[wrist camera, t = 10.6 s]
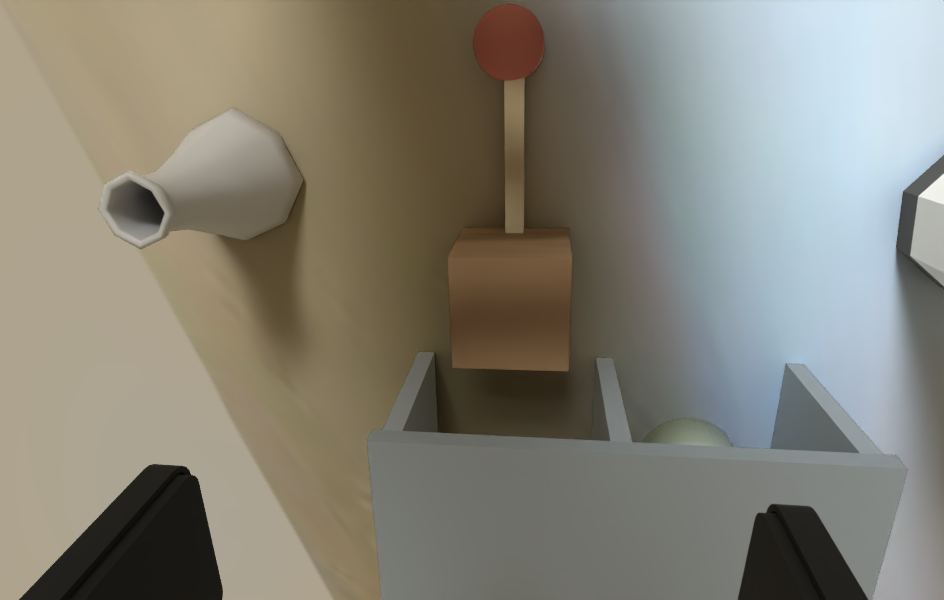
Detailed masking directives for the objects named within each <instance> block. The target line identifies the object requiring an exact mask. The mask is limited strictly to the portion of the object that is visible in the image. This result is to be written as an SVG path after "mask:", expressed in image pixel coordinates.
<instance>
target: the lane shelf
mask: <svg viewBox="0 0 944 600" xmlns="http://www.w3.org/2000/svg"><path fill="white" fill-rule="evenodd" d="M367 448H368V459H369V470H370V480H371V491H372V501H373V512H374V523H375V533H376V544H377V554H378V565H379V575H380V586H381V597H382V600H738V595H739V591H740V586H741V581H742V577H743V572H744V567H745V563H746V558H747V553H748V549H749V544H750V539H751V535H752V530H753V525H754V521H755V517H756V515H757V514H758V513H766V512H767V509H768V507H769V506H770V504H784V505H800V506H810V507H812V508H813V509H814V510H815V512H816V513H817V514H818V516H819V518H820V519H821V521H822V523H823V524H824V526H825V528H826V529H827V531H828V533H829V534H830V536H831V538H832V539H833V541H834V543H835V544H836V546H837V548H838V549H839V551H840V553H841V554H842V556H843V558H844V560H845V561H846V563H847V565H848V566H849V568H850V570H851V571H852V573H853V575H854V576H855V578H856V580H857V581H858V583H859V585H860V586H861V588H862V590H863V591H864V593H865V595H866V596H867V598H868V600H872V598H873V594H874V591H875V587H876V583H877V580H878V576H879V573H880V569H881V565H882V562H883V558H884V555H885V551H886V547H887V544H888V540H889V537H890V533H891V529H892V526H893V522H894V519H895V515H896V511H897V508H898V504H899V501H900V497H901V493H902V490H903V486H904V483H905V479H906V475H907V472H908V468H907V467H906V465H905V464H904V463H903V462H902V461H901V460H900V459H899V458H898V457H897V456H896V455H887V454H883V453H882V452H881V451H880V449H879V448H878V447H877V446H876V445H875V444H874V443H873V442H872V440H871V439H870V438H869V437H868V436H867V435H866V434H865V432H864V431H863V430H862V429H861V428H860V427H859V426H858V425H857V423H856V422H855V421H854V420H853V419H852V418H851V417H850V416H849V414H848V413H847V412H846V411H845V410H844V409H843V408H842V407H841V405H840V404H839V403H838V402H837V401H836V400H835V399H834V398H833V396H832V395H831V394H830V393H829V392H828V391H827V390H826V388H825V387H824V386H823V385H822V384H821V383H820V382H819V381H818V379H817V378H816V377H815V376H814V375H813V374H812V373H811V372H810V370H809V369H808V368H807V367H806V366H805V365H804V364H786V367H785V372H784V378H783V384H782V389H781V395H780V400H779V406H778V411H777V417H776V422H775V428H774V433H773V439H772V445H771V449H763V448H743V447H722V446H701V445H681V444H660V443H640V442H632V439H631V435H630V431H629V426H628V422H627V418H626V413H625V409H624V405H623V400H622V396H621V392H620V387H619V383H618V379H617V374H616V370H615V366H614V361H613V358H597V357H596V367H595V384H594V401H593V419H592V436H591V440H578V439H557V438H537V437H516V436H495V435H475V434H454V433H438V420H437V398H436V376H435V355H434V352H418V354H417V357H416V359H415V361H414V363H413V365H412V367H411V369H410V372H409V374H408V376H407V378H406V380H405V382H404V385H403V387H402V389H401V391H400V393H399V395H398V397H397V400H396V402H395V404H394V406H393V408H392V410H391V413H390V415H389V417H388V419H387V421H386V423H385V425H384V428H383V430H372V432H371V434H370V436H369V438H368V440H367Z"/></svg>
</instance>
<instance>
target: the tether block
mask: <svg viewBox="0 0 944 600" xmlns="http://www.w3.org/2000/svg"><path fill="white" fill-rule="evenodd" d="M473 49H474V54H475V57H476V60H477V62H478V64H479V65H480V67H481V68H482V69H483V70H484V71H485V72H486V73H487V74H488V75H490V76H491V77H493V78H496V79H499V80H503V81H504V123H505V228H463V230H462V232H461V233H460V235H459V237H458V239H457V241H456V243H455V245H454V246H453V248H452V250H451V252H450V254H449V256H448V279H449V303H450V326H451V350H452V368H471V369H504V370H538V371H569V347H570V317H571V287H572V251H571V244H570V237H569V229H568V228H524V99H525V77H527V76H528V75H530V74H531V73H533V72H534V71H535V70H536V69H537V67H538V66H539V64H540V63H541V61H542V58H543V54H544V38H543V32H542V28H541V26H540V24H539V22H538V20H537V19H536V17H535V16H534V15H533V14H532V13H531V12H530V11H528V10H527V9H525V8H523V7H521V6H518V5H514V4H505V5H500V6H497V7H495V8H493V9H491V10H490V11H489V12H487V13H486V14H485V15H484V16H483V17H482V19H481V20H480V21H479V23H478V25H477V27H476V30H475V33H474V38H473Z"/></svg>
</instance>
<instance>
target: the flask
mask: <svg viewBox="0 0 944 600" xmlns="http://www.w3.org/2000/svg"><path fill="white" fill-rule="evenodd" d="M302 183H303V178H302V176H301V174H300V172H299V170H298V169H297V167H296V165H295V163H294V161H293V159H292V157H291V155H290V153H289V152H288V150H287V148H286V146H285V144H284V142H283V140H282V138H281V137H280V135H279V133H277V132H276V131H274V130H272V129H270V128H268V127H267V126H265V125H263V124H261V123H260V122H258V121H256V120H254V119H252V118H251V117H249V116H247V115H245V114H243V113H242V112H240V111H238V110H236V109H234V108H231V109H229V110H228V111H226V112H224V113H222V114H220V115H218V116H216V117H215V118H213V119H211V120H209V121H207V122H205V123H203V124H202V125H200V126H198V127H196V128H194V129H192V131H191V132H190V133H189V134H188V135H187V136H186V138H185V139H184V140H183V142H182V143H181V144H180V146H179V147H178V148H177V150H176V151H175V152H174V153H173V154H172V155H171V157H170V158H169V159H168V160H167V161H166V162H165V163H164V164H163V165H162V167H161V168H160V169H159V170H158V171H156V172H154V173H151V174H148V175H144V176H142V175H140V174H139V173H137V172H135V171H129V172H127V173H125V174H123V175H121V176H119V177H117V178H115V179H114V180H112V181H110V182H108V183H106V184H105V186H104V190H103V193H102V197H101V200H100V204H99V207H98V210H99V212H100V213H101V215H102V216H103V218H104V219H105V221H106V223H107V224H108V226H109V227H110V229H111V230H112V232H113V234H114V235H115V236H117V237H119V238H121V239H123V240H124V241H126V242H128V243H130V244H132V245H134V246H136V247H138V248H139V249H143V248H145V247H147V246H149V245H151V244H153V243H155V242H157V241H159V240H161V239H163V238H165V237H167V236H168V234H169V231H179V230H188V229H189V230H195V231H201V232H207V233H213V234H219V235H223V236H227V237H232V238H236V239H241V240H249V239H251V238H253V237H255V236H257V235H259V234H261V233H264V232H266V231H268V230H270V229H272V228H274V227H276V226H279V225H281V224H283V223H285V222H286V220H287V218H288V216H289V213H290V211H291V208H292V206H293V204H294V201H295V199H296V197H297V194H298V192H299V190H300V187H301V185H302Z"/></svg>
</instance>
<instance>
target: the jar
mask: <svg viewBox="0 0 944 600" xmlns="http://www.w3.org/2000/svg"><path fill="white" fill-rule="evenodd" d="M642 443H660V444H681V445H701V446H722V447H734V446H733V444H732V442H731V440H730V439H729V437H728V436H727V435H726V433H725V432H724V431H722V430H721V429H720V428H719V427H717V426H716V425H714V424H712V423H710V422H707V421H704V420H699V419H692V418H684V419H677V420H672V421H669V422H666V423H664V424H662V425H660V426H658V427H657V428H655V429H654V430H653V431H651V432H650V433H649V434H648V435H647V436H646V438H645V439H644V440H643V442H642Z"/></svg>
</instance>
